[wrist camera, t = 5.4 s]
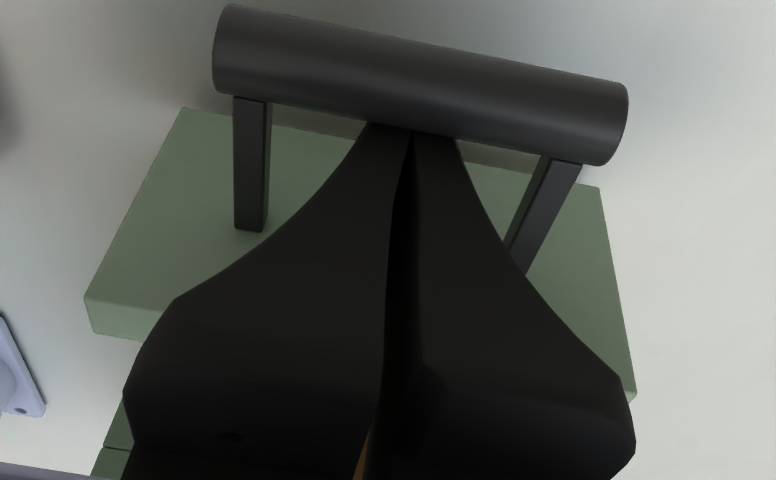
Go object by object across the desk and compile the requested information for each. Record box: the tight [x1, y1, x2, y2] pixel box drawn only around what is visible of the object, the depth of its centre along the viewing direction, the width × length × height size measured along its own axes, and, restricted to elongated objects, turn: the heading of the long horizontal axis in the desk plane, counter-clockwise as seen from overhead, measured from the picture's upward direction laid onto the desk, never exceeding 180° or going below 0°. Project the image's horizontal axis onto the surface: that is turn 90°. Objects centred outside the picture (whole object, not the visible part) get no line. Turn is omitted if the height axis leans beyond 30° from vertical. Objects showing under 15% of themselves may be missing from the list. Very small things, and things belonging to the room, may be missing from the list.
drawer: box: [84, 4, 637, 480], centre depth 17 cm, size 17×10×6 cm, turn 170°
